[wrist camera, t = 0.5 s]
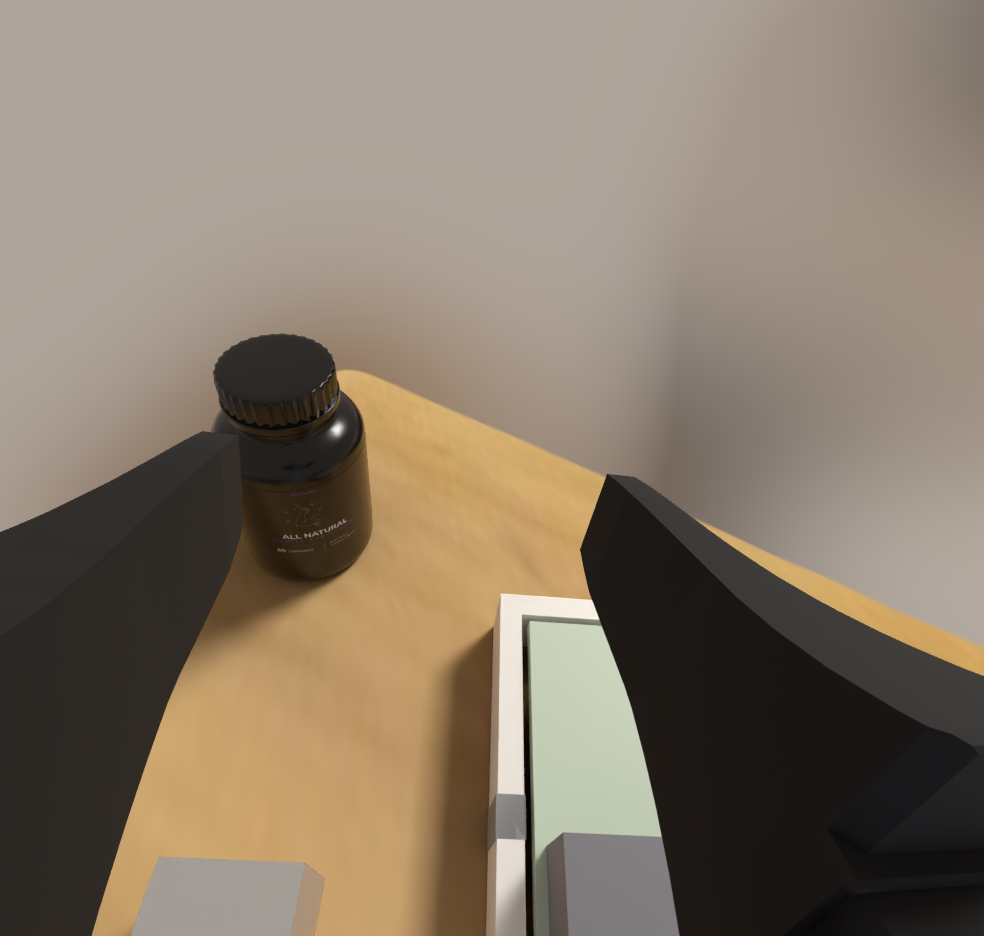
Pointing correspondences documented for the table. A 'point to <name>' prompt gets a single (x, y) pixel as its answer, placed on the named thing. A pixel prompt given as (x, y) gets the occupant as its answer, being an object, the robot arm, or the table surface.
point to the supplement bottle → (295, 455)
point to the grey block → (230, 898)
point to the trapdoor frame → (514, 753)
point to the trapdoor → (590, 795)
